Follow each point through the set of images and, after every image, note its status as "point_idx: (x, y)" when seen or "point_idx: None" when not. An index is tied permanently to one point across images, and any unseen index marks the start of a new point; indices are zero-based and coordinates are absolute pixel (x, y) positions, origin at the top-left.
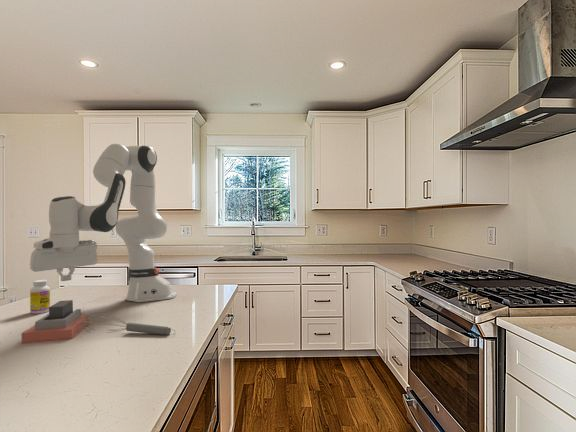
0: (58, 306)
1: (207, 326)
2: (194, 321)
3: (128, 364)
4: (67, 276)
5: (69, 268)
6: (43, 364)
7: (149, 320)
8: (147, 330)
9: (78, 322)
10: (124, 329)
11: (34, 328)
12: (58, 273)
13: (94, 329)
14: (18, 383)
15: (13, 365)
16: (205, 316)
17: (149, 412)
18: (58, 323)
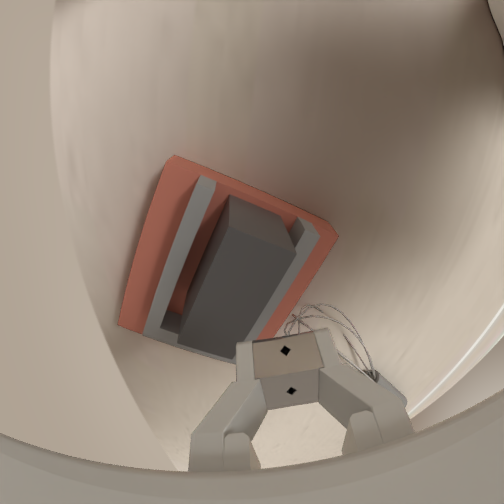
0: (215, 352)
1: (452, 383)
2: (468, 353)
3: (296, 453)
4: (299, 397)
5: (349, 452)
6: (195, 424)
7: (444, 304)
8: None
9: (281, 316)
10: (361, 372)
11: (143, 298)
12: (213, 418)
13: (319, 310)
14: (173, 445)
15: (149, 407)
16: (494, 333)
17: None
18: None
